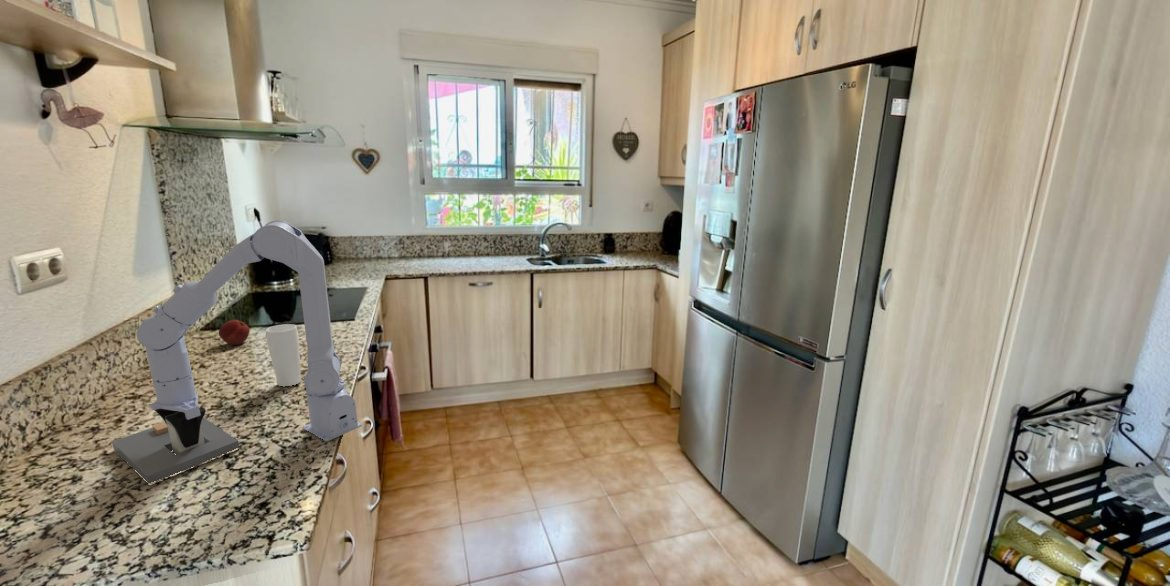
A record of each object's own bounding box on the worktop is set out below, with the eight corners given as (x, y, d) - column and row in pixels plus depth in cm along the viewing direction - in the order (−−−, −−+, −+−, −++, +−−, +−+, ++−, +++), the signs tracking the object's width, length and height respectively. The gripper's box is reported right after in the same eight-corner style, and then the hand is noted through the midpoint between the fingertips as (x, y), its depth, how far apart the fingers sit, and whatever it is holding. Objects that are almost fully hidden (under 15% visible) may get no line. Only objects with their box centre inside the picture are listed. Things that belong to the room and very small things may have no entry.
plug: (206, 451, 97) (199, 413, 95) (181, 460, 94) (172, 422, 92) (198, 444, 99) (190, 408, 97) (173, 454, 96) (164, 416, 94)
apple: (243, 347, 152) (239, 323, 150) (215, 349, 151) (210, 324, 149) (255, 339, 159) (251, 316, 157) (228, 341, 158) (224, 317, 156)
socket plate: (239, 449, 97) (237, 436, 97) (149, 486, 86) (145, 471, 85) (198, 421, 108) (196, 408, 108) (114, 450, 97) (110, 436, 96)
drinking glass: (270, 390, 123) (261, 333, 120) (279, 379, 130) (270, 324, 126) (300, 387, 125) (292, 331, 121) (307, 376, 131) (300, 322, 128)
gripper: (132, 374, 93) (147, 439, 96) (159, 393, 85) (175, 463, 89) (177, 362, 99) (190, 424, 102) (207, 379, 91) (220, 445, 94)
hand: (186, 441), depth 96 cm, fingers closed on plug, 4 cm apart
